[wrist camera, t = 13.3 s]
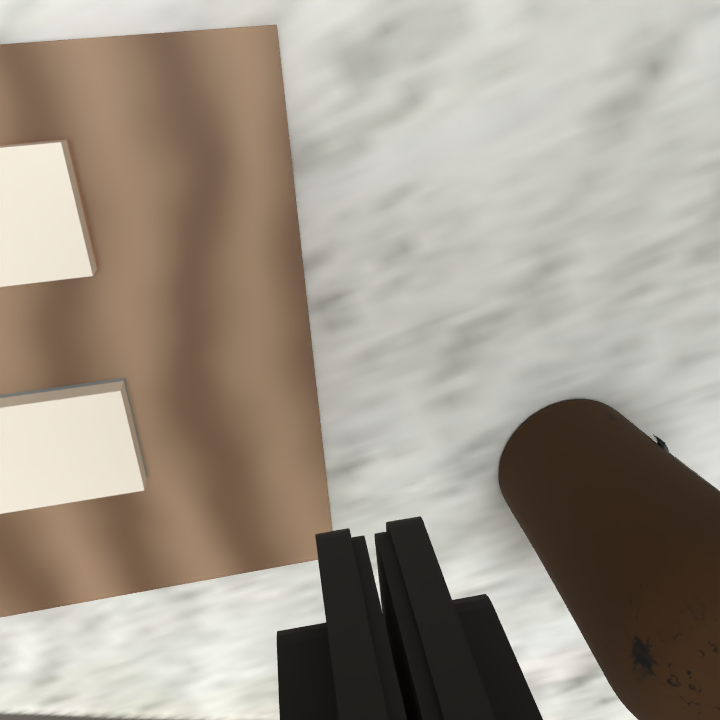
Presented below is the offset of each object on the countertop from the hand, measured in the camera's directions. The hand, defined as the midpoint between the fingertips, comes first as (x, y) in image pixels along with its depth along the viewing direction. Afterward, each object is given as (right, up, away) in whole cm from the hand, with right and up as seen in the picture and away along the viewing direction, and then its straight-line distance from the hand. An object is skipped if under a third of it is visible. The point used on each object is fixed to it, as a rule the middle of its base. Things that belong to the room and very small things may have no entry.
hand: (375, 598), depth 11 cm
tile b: (-12, 0, +26) cm, 28 cm away
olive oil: (+13, -3, +35) cm, 37 cm away
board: (-15, +4, +26) cm, 30 cm away
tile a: (-13, +11, +21) cm, 27 cm away
